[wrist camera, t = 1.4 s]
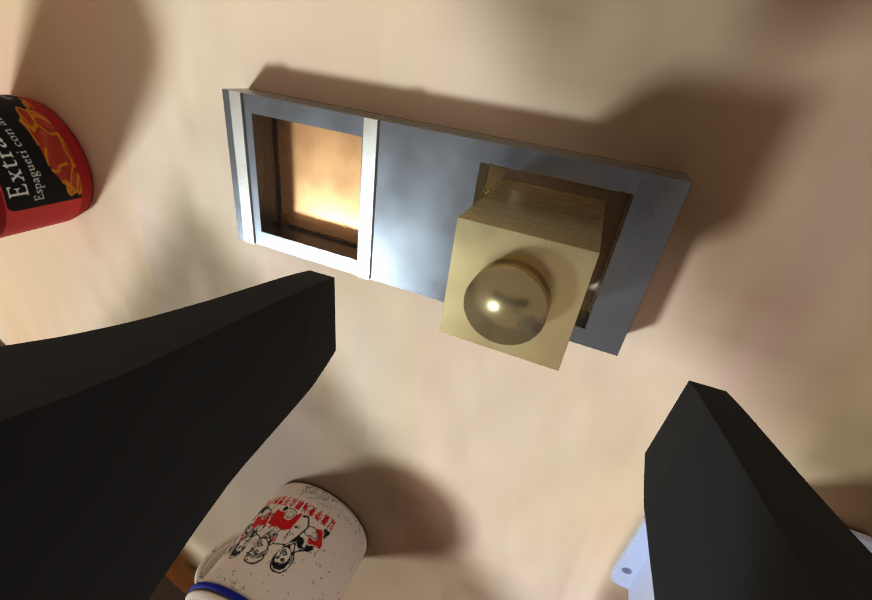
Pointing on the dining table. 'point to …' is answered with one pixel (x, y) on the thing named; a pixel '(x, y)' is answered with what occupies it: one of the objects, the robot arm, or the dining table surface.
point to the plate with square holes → (421, 197)
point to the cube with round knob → (522, 270)
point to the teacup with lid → (286, 551)
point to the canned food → (39, 168)
